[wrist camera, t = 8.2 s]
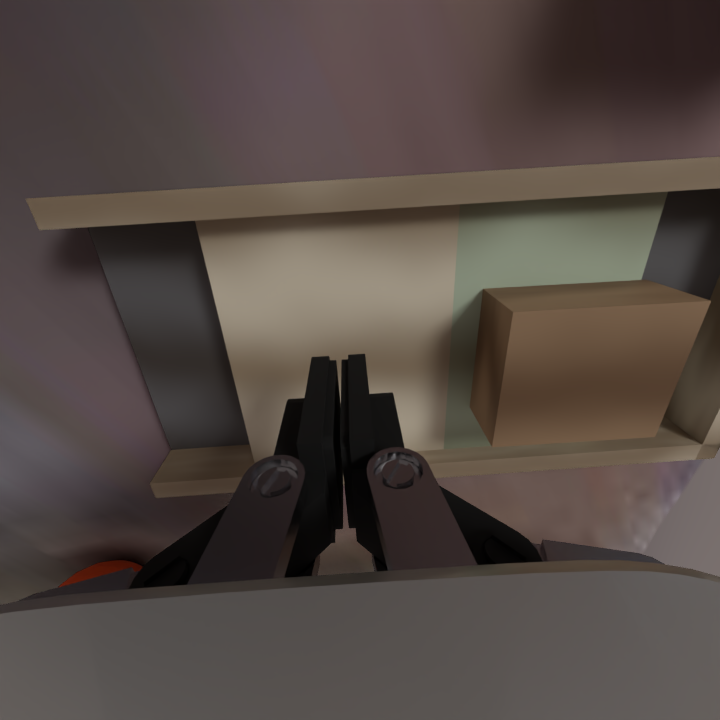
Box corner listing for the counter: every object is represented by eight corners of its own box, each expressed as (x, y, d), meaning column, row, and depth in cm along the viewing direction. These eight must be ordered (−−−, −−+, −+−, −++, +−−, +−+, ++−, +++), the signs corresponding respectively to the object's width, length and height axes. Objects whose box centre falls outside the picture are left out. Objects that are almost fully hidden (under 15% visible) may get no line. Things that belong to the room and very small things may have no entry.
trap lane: (91, 194, 15) (25, 198, 12) (766, 154, 15) (873, 147, 12) (183, 451, 21) (155, 497, 18) (660, 418, 22) (714, 458, 19)
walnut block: (482, 288, 15) (512, 312, 12) (646, 279, 15) (711, 300, 13) (469, 407, 18) (492, 447, 15) (608, 398, 18) (655, 437, 15)
